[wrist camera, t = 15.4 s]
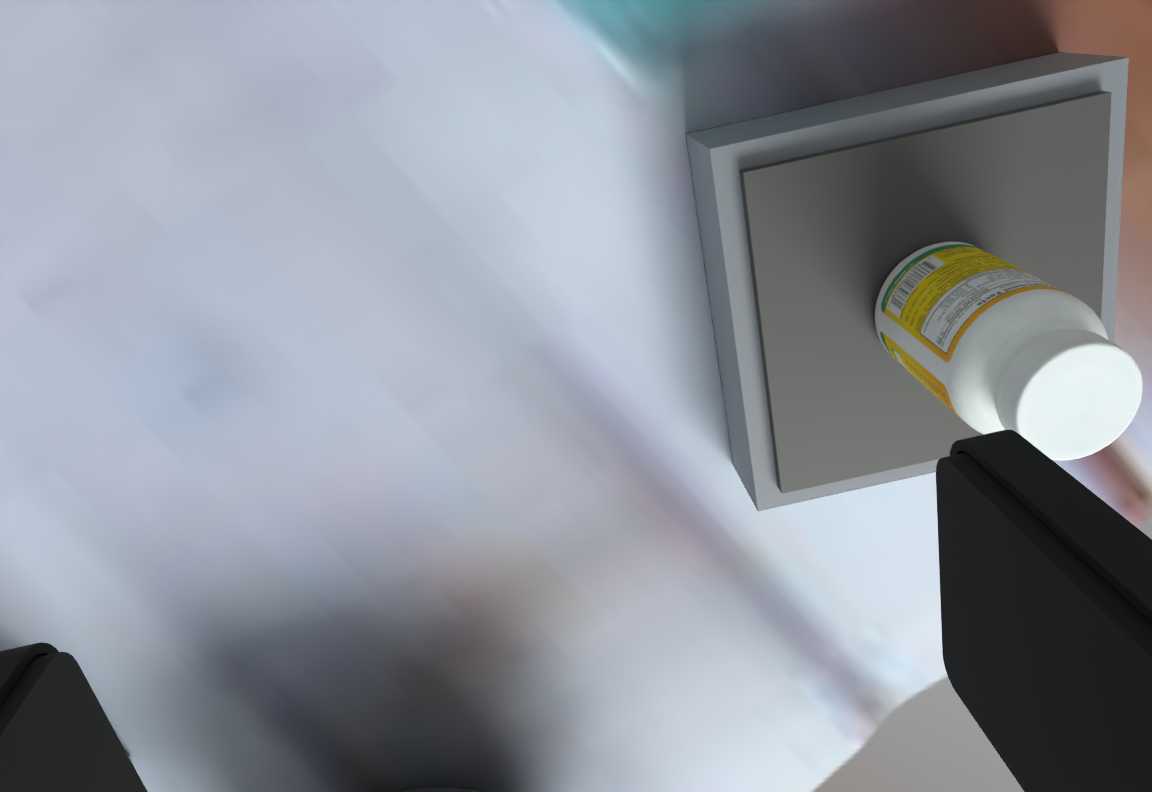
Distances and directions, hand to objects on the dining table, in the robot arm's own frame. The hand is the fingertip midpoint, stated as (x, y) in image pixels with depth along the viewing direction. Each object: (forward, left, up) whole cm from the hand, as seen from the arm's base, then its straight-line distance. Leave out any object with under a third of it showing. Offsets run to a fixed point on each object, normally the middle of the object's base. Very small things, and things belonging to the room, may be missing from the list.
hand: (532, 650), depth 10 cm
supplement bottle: (+8, +16, -26) cm, 31 cm away
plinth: (+8, +16, -30) cm, 35 cm away
